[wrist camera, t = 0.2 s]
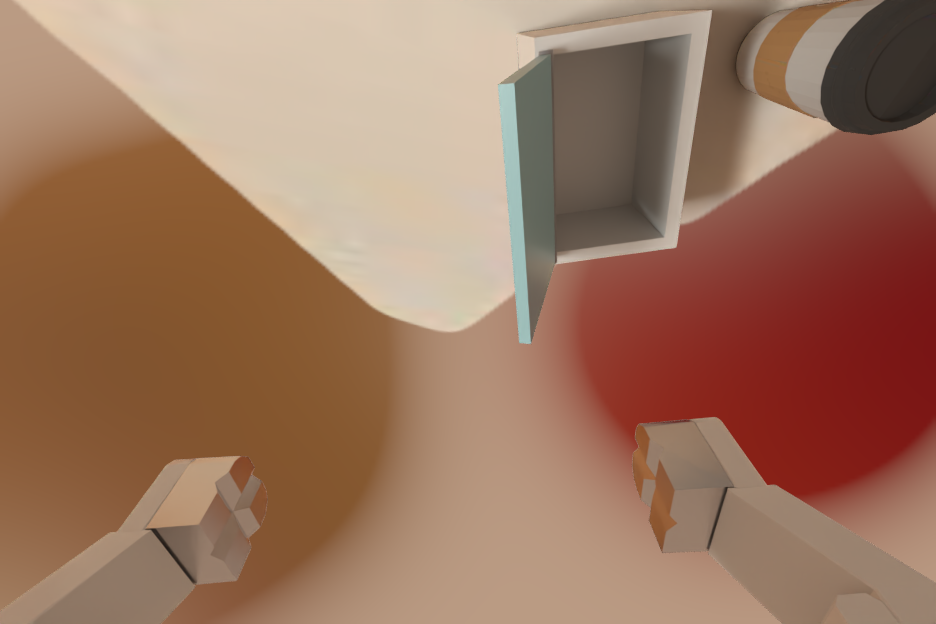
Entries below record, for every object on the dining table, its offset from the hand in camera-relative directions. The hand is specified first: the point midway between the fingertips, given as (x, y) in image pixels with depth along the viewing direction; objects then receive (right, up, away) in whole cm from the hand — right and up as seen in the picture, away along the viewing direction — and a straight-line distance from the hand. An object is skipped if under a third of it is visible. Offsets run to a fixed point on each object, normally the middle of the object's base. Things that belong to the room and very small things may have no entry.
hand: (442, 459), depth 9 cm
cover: (+6, +11, +21) cm, 24 cm away
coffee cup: (+28, +27, +30) cm, 49 cm away
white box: (+12, +21, +33) cm, 41 cm away
